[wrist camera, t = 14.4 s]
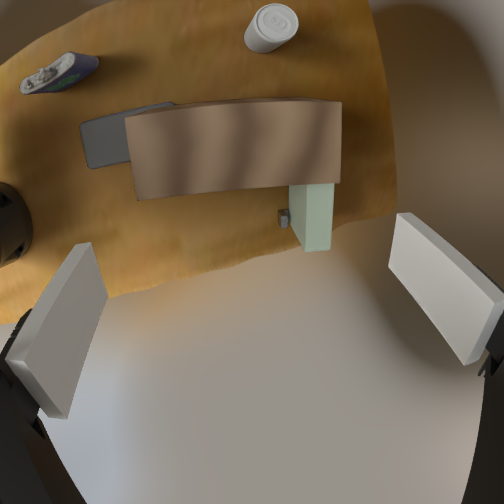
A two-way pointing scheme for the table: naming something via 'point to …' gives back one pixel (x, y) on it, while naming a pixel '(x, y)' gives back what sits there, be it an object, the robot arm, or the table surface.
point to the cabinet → (234, 145)
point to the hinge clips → (283, 218)
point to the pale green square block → (312, 215)
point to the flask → (60, 74)
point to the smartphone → (109, 137)
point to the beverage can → (271, 28)
